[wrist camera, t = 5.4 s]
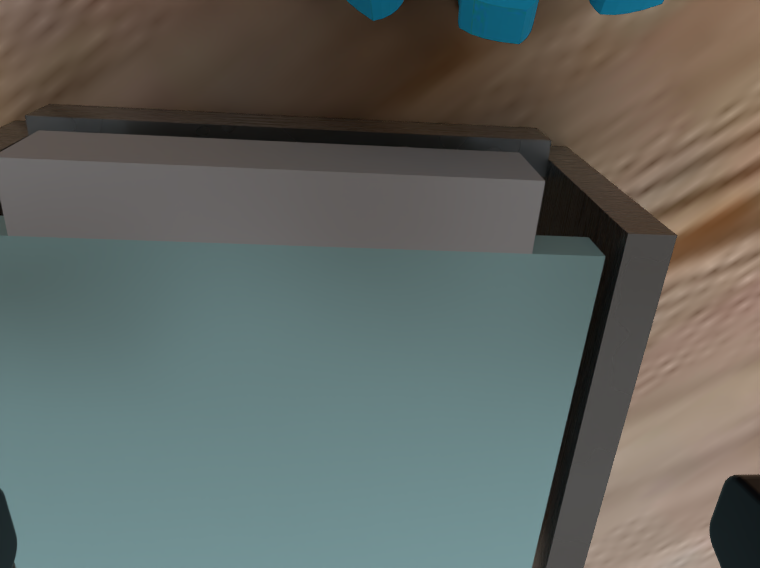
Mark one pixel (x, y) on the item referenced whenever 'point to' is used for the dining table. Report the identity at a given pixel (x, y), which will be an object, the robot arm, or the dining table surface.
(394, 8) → the gear
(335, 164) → the sliding box lid
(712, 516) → the robot arm
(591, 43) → the dining table surface
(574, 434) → the grey drawer box
